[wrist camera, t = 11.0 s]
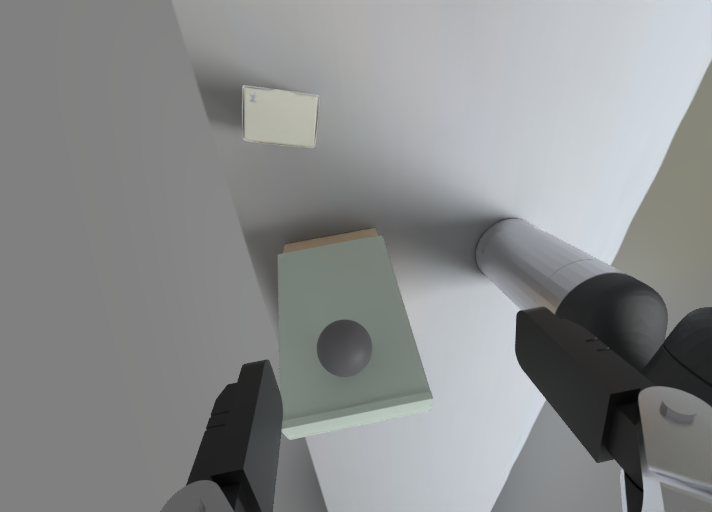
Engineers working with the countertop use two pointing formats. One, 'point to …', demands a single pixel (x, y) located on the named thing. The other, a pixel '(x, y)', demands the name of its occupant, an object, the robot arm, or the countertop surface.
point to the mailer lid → (345, 340)
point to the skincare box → (279, 117)
